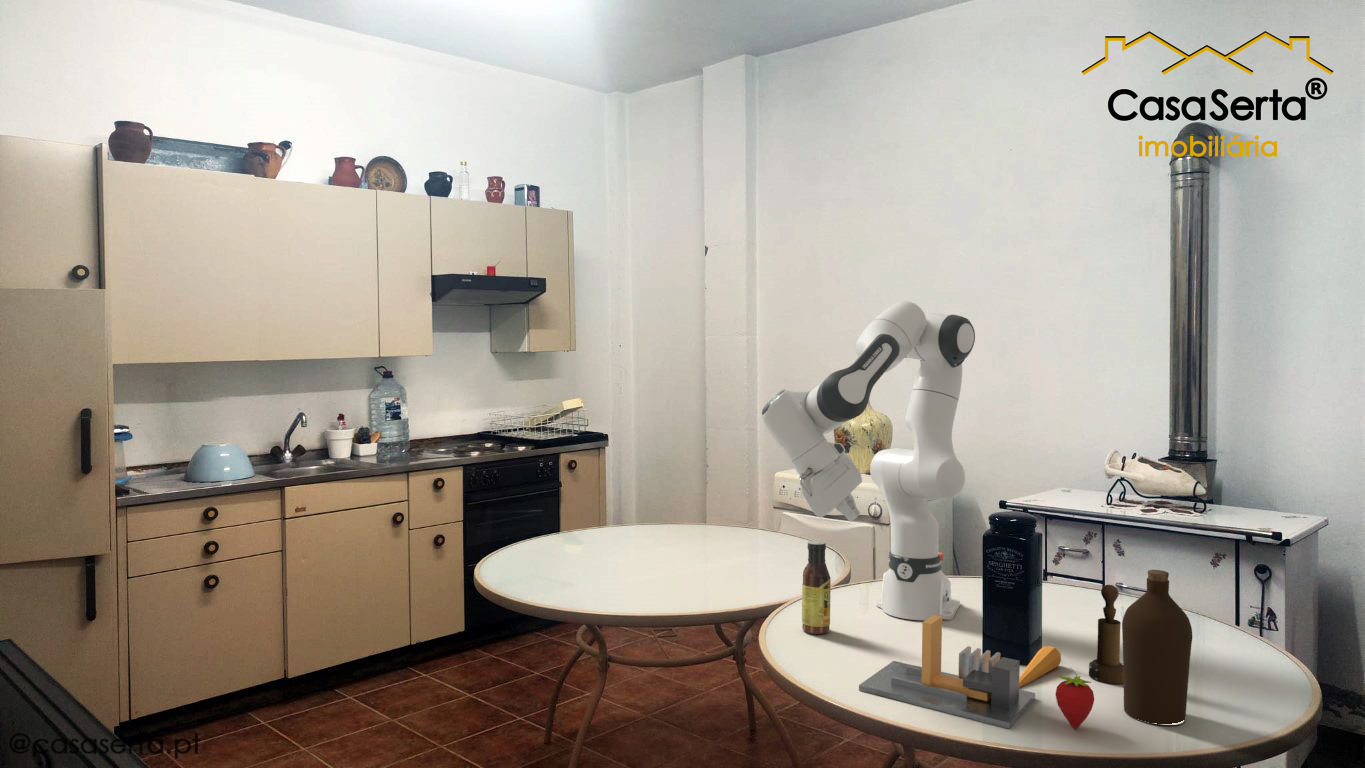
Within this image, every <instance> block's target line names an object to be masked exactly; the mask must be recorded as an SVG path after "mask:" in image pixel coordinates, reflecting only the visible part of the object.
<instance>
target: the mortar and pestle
mask: <svg viewBox="0 0 1365 768" xmlns="http://www.w3.org/2000/svg"><path fill="white" fill-rule="evenodd" d="M1100 594H1101V596H1102V598H1103V600H1104V602H1105V606H1104V607H1103V608H1102V609H1103V616H1104V618H1098V619H1097V643H1096V644H1097V647H1096V648H1097V651H1096V659H1095V658H1094V660H1092V661H1090V662H1089V664H1088V666H1089V667H1088V676H1089V677H1090V678H1091V679H1093V680H1095V681H1097V682H1101V683H1104V684H1105V683H1106V684H1110V685H1111V684H1112V685H1123V684H1124V672H1123V663H1122V662H1120V659H1121V655H1120V652H1121V651H1120V649H1121V627H1122V622H1121V621H1120V620H1117V619H1115V617H1116V613H1117V609H1116V608H1115V602H1116V601H1117V600H1118V598H1119V589H1118V588H1117V587H1116V586H1115V585H1112V584H1105V585H1103V587H1102V588H1101V591H1100ZM1122 683H1123V684H1122Z"/></svg>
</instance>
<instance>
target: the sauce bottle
mask: <svg viewBox="0 0 1365 768" xmlns="http://www.w3.org/2000/svg"><path fill="white" fill-rule="evenodd" d="M826 549H827V542H825V541H819V540H813V541H808V542H807V550H808V556H807V557H808V558H807V562H808V563H807V564H806V566H805V567H804V569H803V572H802V584H801V585H802V587H801V589H802V590H801V593H802V594H801V600H802V601H801V623H802V625H801V627H802V631H803V632H805V633H807V634H811V635H824V634H827V633H829V631H830V625H831V580H832V579H831V576H830V572H829V570H828V567H827V563H826Z"/></svg>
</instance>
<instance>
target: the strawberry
mask: <svg viewBox="0 0 1365 768" xmlns="http://www.w3.org/2000/svg"><path fill="white" fill-rule="evenodd" d="M1069 668H1070V670H1072V671H1073V672H1074V673H1075V674H1076V675H1075V676H1074V677H1073V678H1072V677H1070V676H1061V675H1056V677H1057V678H1060V679H1062V680H1063V681H1061V682H1059V684H1058V685H1057V686H1056V689H1055V693H1054V694H1055V699H1056V704H1057V706H1058V708H1059V710H1060V711H1061V713H1062V714H1063V716H1064V717H1065V719H1066V721H1068V723H1069V724H1070V726H1071V727H1072V728H1073V729H1079V727H1080V726H1081V725H1082V724H1083V723H1084V721H1086V718H1087V717H1088V716H1089V715H1090V713H1091V712H1092V709H1093V706H1094V703H1095V695H1094V691H1093V690H1092V688H1091V687H1090V685H1088V684H1089V683H1090V684H1091V683H1092V681H1088V680H1085V679H1083V678H1082V677H1081V676H1082V675H1080V676H1079V675H1078V674H1077V673H1076V672H1075V670H1074V669H1073V668H1072V667H1071V666H1070V667H1069Z"/></svg>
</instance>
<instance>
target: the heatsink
mask: <svg viewBox="0 0 1365 768" xmlns="http://www.w3.org/2000/svg"><path fill="white" fill-rule="evenodd" d="M981 652H982V649H981V648H975V650H973V651H972V646H969V645H967V646H966V647H965V648H963V650H961V651H960V652H959V653H958V674H954V673H950V672H949V673H948V672H944V671H941V674H942V675H947V676H951V677H955V678H960V679H963V686H964V687H969V688H973V689H977V690H981V691H986V692H990V693H992V694H991V698H990V699H989V700H988V701H984V700H980V699H976V698H972V697H968V694H964V693H959V692H955V691H951V690H947V689H943V688H939V687H934V686H930V685H926V684H922V683H921V681H922V666H918V665H914V664H910V663H905V662H901V661H896V660H893V661H891V662H890V663H888V664H887V665H885V666H884V667H883V668H881V669H880V670H878V671H877V672H876V673H874V674H873V675H871V676H870V677H868V678H867V679H866V680H863V682H861V683H860V684H858V691H860V692H862V693H863V692H864V693H868V694H871V695H875V696H880V697H884V698H886V699H887V698H888V699H891V700H895V701H899V702H902V703H907V704H910V705H915V706H919V707H921V708H927V709H930V710H934V711H937V712H938V711H939V712H941V713H945V714H946V713H947V714H950V715H953V716H958V717H961V718H966V719H969V720H974V721H977V722H981V723H985V724H987V725H988V724H989V725H993V726H995V727H996V726H997V727H1001V728H1004V729H1011V728H1012V726H1013V725H1014V724H1015V723H1016V722H1017V720H1019V718H1020V717H1021V716H1022V714H1023V713H1025V711H1026V710H1027V709H1028V707H1029V706H1030V705H1031V704H1032V703H1033V702H1034V701H1035V700H1036V692H1032V691H1028V690H1023V689H1021V688H1020V687H1019V677H1020V662H1021V661H1020V660H1019V659H1018V660H1017V659H1013V658H1008V657H1003V656H1002V657H1001V652H998V651H997V652H995V654H993V655H992V656H991V650H990V649H986V651H985V652H984V653H982V654H981Z"/></svg>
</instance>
